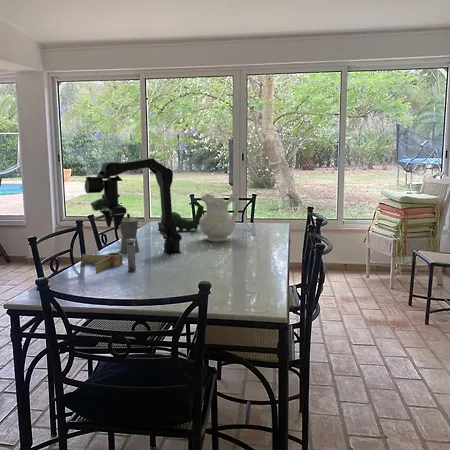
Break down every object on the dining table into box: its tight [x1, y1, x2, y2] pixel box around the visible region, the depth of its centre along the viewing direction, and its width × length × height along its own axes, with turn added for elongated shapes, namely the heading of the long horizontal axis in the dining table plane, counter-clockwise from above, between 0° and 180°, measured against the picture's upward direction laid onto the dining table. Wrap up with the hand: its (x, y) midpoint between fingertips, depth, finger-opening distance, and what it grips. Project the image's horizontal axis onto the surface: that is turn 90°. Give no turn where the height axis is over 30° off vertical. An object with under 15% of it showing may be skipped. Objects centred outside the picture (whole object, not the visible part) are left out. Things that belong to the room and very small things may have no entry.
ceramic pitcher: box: [198, 193, 240, 243], centre depth 241 cm, size 22×20×25 cm
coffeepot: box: [119, 213, 140, 254], centre depth 216 cm, size 15×9×18 cm, turn 33°
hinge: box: [81, 251, 124, 274], centre depth 190 cm, size 14×19×4 cm
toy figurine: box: [160, 200, 205, 232], centre depth 267 cm, size 9×19×25 cm
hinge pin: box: [126, 239, 137, 273], centre depth 181 cm, size 4×4×13 cm
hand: (112, 228), depth 195 cm, fingers open, 9 cm apart
